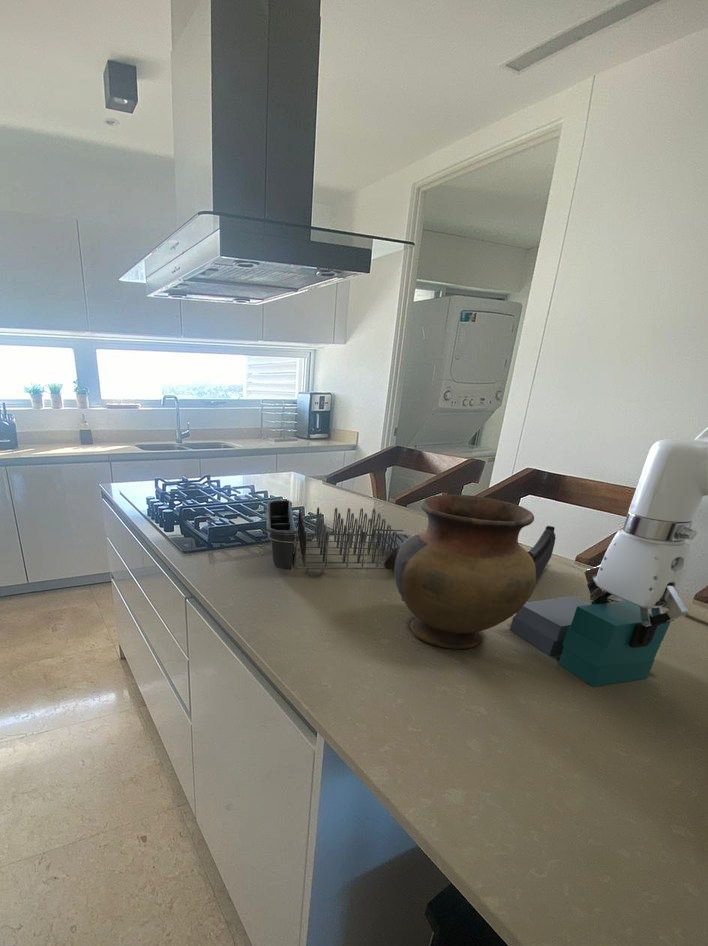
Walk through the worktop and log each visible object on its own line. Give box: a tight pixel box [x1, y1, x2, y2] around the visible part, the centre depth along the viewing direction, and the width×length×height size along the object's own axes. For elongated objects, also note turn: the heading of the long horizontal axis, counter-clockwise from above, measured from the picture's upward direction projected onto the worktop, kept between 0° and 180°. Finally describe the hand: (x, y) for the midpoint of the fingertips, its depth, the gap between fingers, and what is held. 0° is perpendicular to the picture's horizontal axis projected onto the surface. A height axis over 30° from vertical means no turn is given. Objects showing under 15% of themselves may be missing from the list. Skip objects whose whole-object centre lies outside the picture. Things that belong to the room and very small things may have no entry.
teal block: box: [570, 601, 672, 648], centre depth 78 cm, size 11×7×4 cm, turn 104°
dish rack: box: [265, 499, 412, 577], centre depth 128 cm, size 34×44×12 cm
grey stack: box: [509, 595, 592, 657], centre depth 90 cm, size 14×10×6 cm
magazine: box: [527, 525, 556, 582], centre depth 115 cm, size 17×3×30 cm
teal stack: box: [558, 627, 662, 687], centre depth 80 cm, size 11×7×7 cm, turn 104°
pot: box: [383, 494, 537, 650], centre depth 87 cm, size 25×24×25 cm
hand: (615, 633), depth 78 cm, fingers open, 7 cm apart
